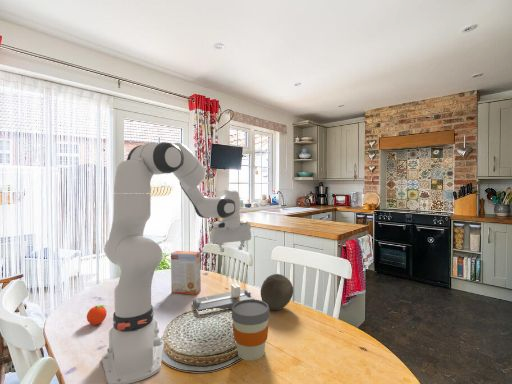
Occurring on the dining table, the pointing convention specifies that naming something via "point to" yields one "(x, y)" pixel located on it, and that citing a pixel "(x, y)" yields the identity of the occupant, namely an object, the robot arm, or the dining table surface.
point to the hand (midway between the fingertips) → (231, 250)
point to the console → (220, 300)
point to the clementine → (96, 314)
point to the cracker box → (185, 272)
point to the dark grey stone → (276, 291)
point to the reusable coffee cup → (250, 328)
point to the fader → (235, 290)
